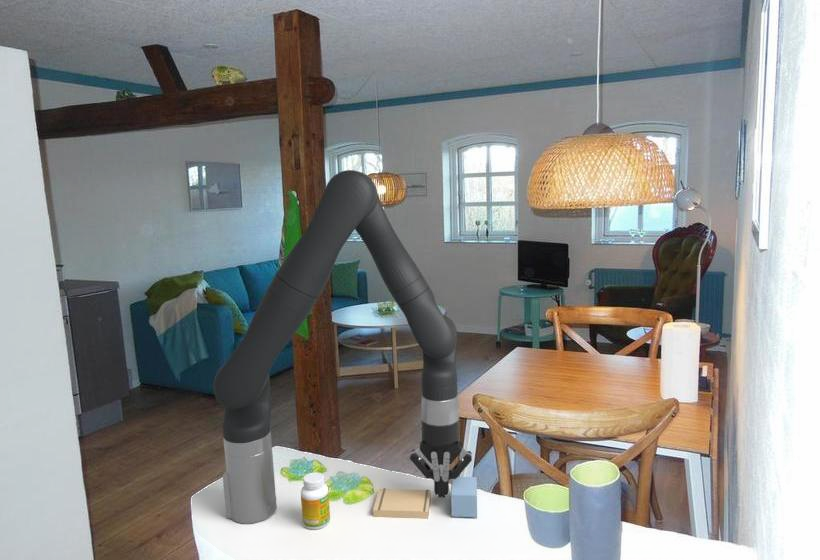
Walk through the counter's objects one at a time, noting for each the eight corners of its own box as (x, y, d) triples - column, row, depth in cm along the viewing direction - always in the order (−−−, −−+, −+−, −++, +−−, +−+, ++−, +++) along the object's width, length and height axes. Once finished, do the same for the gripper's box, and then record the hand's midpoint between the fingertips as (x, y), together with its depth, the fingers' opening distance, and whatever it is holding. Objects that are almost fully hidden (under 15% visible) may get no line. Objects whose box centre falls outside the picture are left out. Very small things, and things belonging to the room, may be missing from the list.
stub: (450, 516, 118) (450, 494, 117) (452, 497, 125) (451, 476, 124) (477, 517, 117) (476, 495, 116) (476, 497, 124) (476, 477, 123)
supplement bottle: (324, 531, 115) (322, 485, 113) (298, 529, 116) (295, 483, 114) (333, 515, 120) (331, 471, 118) (308, 513, 121) (305, 469, 119)
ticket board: (373, 516, 119) (373, 509, 119) (379, 494, 127) (379, 488, 126) (428, 518, 118) (427, 511, 117) (430, 496, 126) (430, 489, 125)
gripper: (404, 423, 115) (407, 505, 118) (473, 424, 113) (474, 507, 117) (408, 407, 122) (411, 485, 125) (473, 408, 121) (474, 486, 124)
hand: (441, 495), depth 121 cm, fingers closed
